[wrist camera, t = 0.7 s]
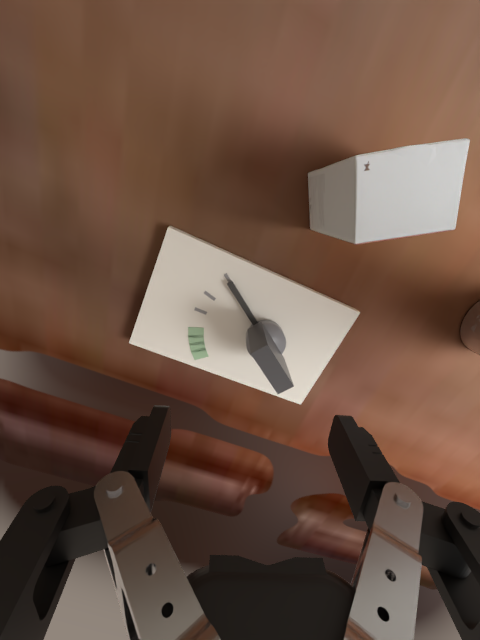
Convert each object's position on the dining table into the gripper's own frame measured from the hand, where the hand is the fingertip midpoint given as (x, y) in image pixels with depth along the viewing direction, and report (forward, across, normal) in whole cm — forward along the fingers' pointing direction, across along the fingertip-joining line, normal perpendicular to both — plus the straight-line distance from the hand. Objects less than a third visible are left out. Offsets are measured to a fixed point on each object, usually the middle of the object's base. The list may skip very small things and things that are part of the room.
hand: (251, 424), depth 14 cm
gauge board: (+24, -1, +5) cm, 25 cm away
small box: (+25, -11, -12) cm, 29 cm away
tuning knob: (+23, -2, +4) cm, 23 cm away
